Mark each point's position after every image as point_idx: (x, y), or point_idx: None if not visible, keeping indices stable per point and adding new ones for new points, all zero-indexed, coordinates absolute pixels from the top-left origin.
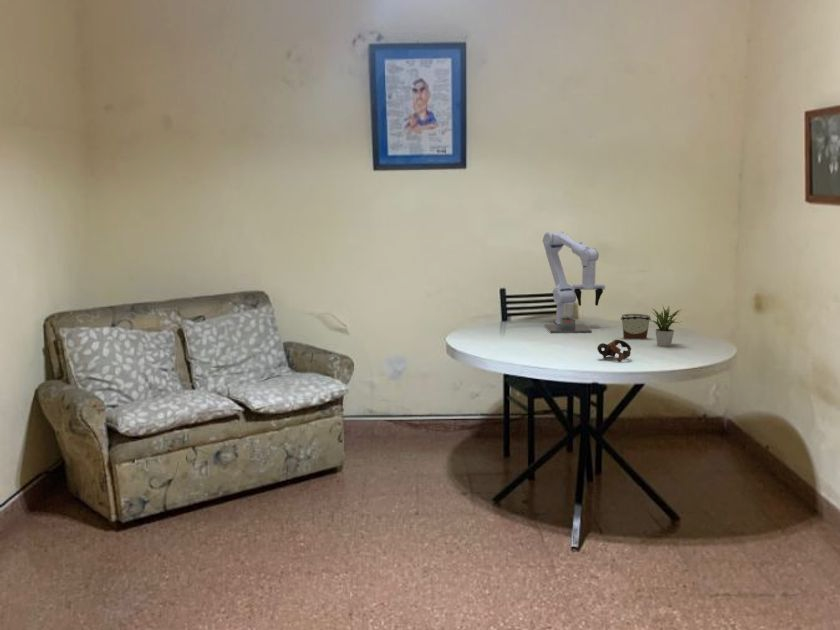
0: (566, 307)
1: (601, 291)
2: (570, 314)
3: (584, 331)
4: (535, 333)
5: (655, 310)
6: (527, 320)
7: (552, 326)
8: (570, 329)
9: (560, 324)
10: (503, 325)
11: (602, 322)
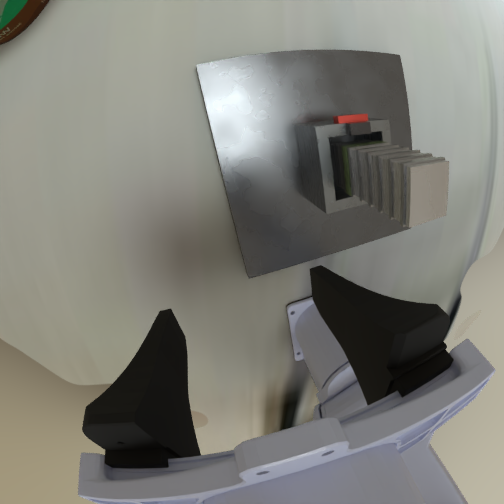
0: (421, 155)
1: (92, 413)
2: (363, 149)
3: (239, 57)
4: (435, 61)
5: None
6: None
7: None
8: (318, 88)
9: None
10: (483, 220)
11: None
